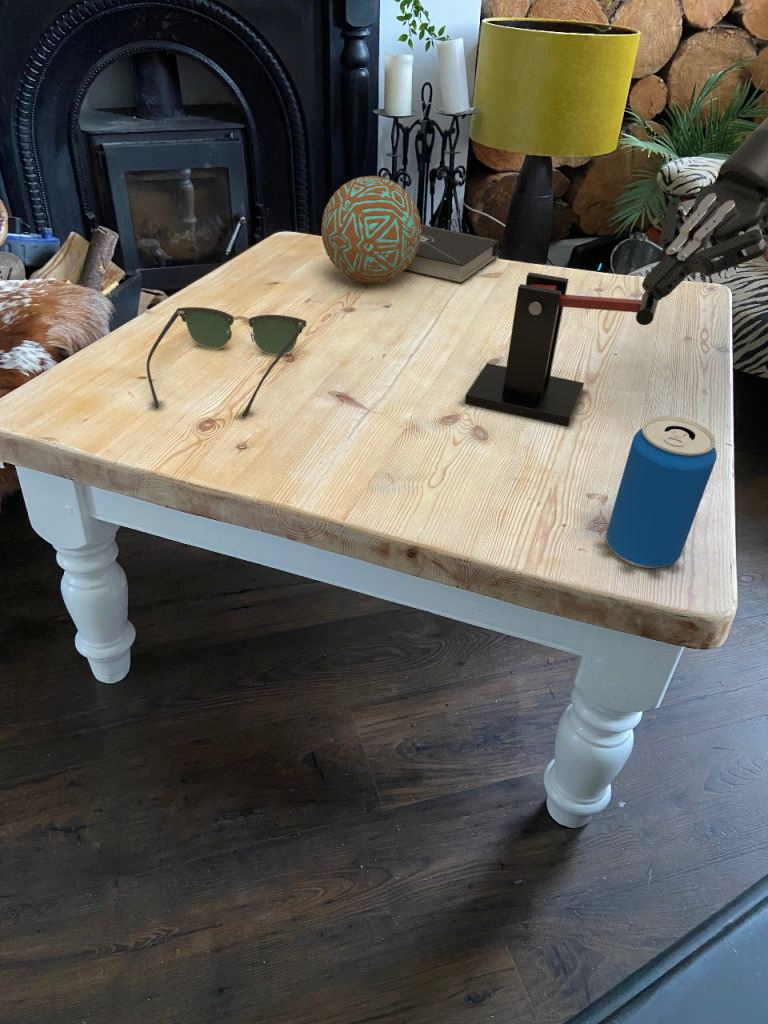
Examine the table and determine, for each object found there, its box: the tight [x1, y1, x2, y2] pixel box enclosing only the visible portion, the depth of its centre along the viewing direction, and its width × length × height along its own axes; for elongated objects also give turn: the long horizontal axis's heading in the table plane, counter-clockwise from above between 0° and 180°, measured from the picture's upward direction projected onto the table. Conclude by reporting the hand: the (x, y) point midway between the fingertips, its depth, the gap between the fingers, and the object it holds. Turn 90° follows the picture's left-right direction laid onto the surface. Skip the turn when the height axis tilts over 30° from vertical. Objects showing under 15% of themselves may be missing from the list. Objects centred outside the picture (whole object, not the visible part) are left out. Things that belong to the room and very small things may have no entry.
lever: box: [530, 284, 659, 326], centre depth 78 cm, size 13×6×2 cm, turn 68°
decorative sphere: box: [321, 175, 422, 284], centre depth 111 cm, size 15×15×15 cm
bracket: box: [464, 271, 585, 427], centre depth 83 cm, size 12×9×14 cm
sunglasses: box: [146, 306, 307, 417], centre depth 87 cm, size 16×17×5 cm
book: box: [403, 224, 500, 285], centre depth 124 cm, size 22×15×3 cm
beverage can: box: [605, 415, 718, 569], centre depth 62 cm, size 6×6×12 cm
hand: (649, 293), depth 76 cm, fingers closed
